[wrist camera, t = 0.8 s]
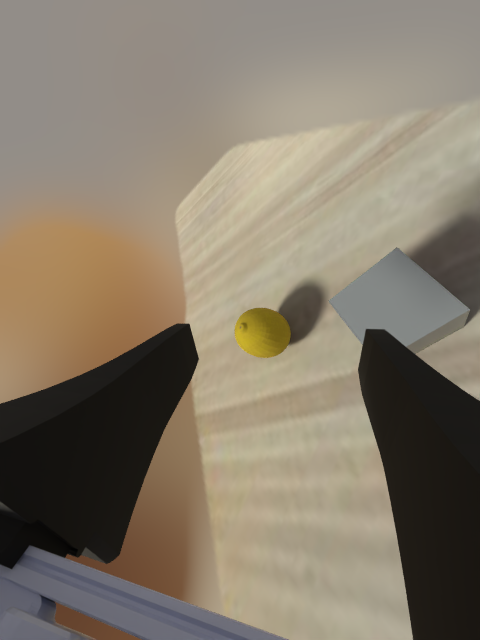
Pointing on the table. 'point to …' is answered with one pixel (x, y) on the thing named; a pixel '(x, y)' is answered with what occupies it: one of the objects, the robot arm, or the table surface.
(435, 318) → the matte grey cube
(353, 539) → the table surface
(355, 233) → the table surface
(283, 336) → the lemon
